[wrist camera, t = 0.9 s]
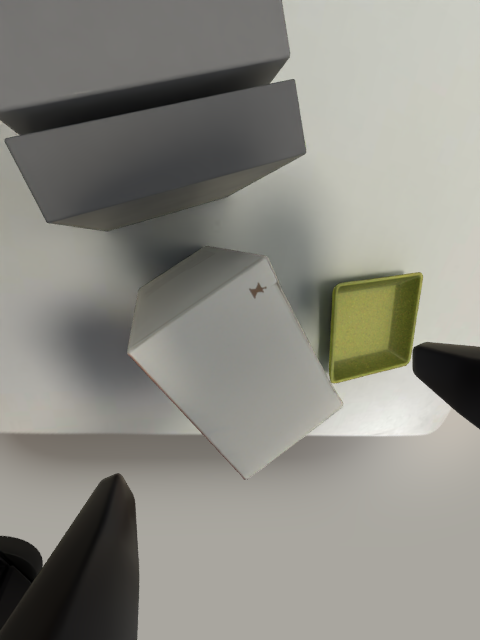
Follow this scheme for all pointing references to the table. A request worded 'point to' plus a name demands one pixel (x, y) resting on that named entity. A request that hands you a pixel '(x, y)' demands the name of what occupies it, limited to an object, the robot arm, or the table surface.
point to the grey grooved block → (144, 103)
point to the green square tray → (373, 325)
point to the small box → (231, 355)
